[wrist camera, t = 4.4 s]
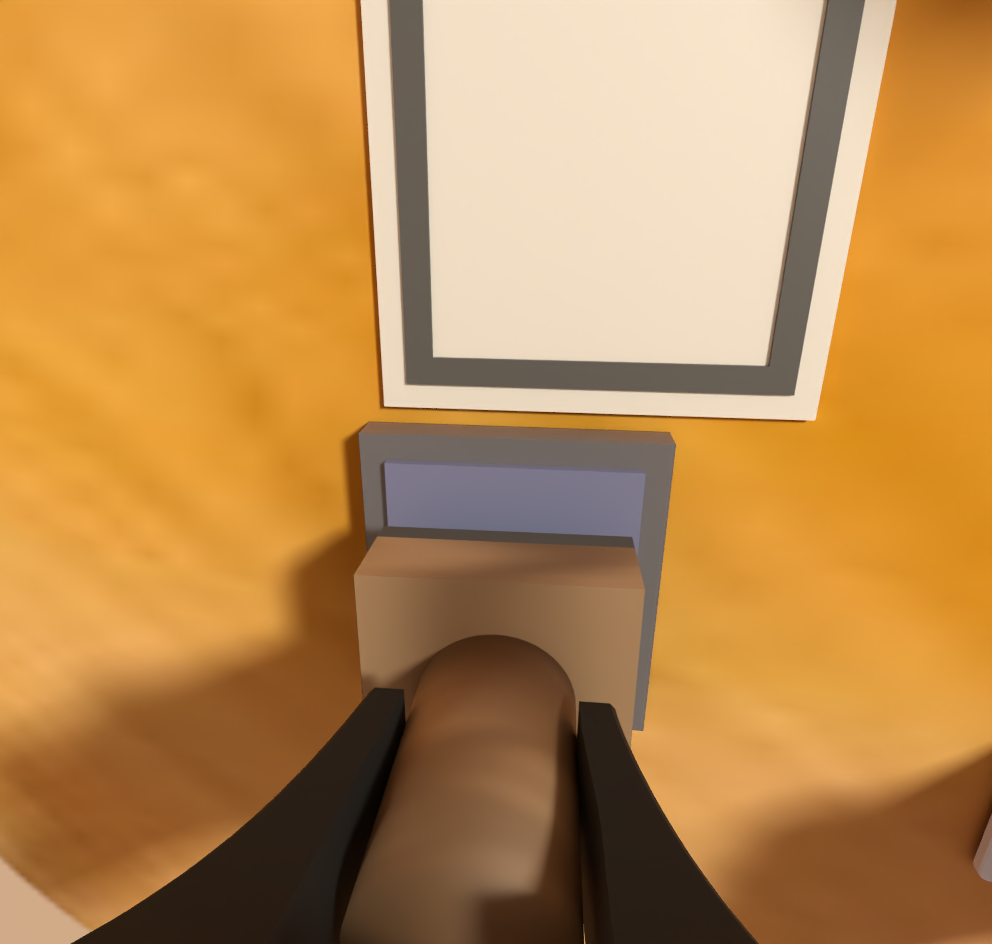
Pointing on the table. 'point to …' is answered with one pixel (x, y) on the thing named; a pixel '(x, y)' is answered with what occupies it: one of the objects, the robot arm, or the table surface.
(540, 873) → the stamp
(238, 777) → the table surface
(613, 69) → the print sheet
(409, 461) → the ink pad
